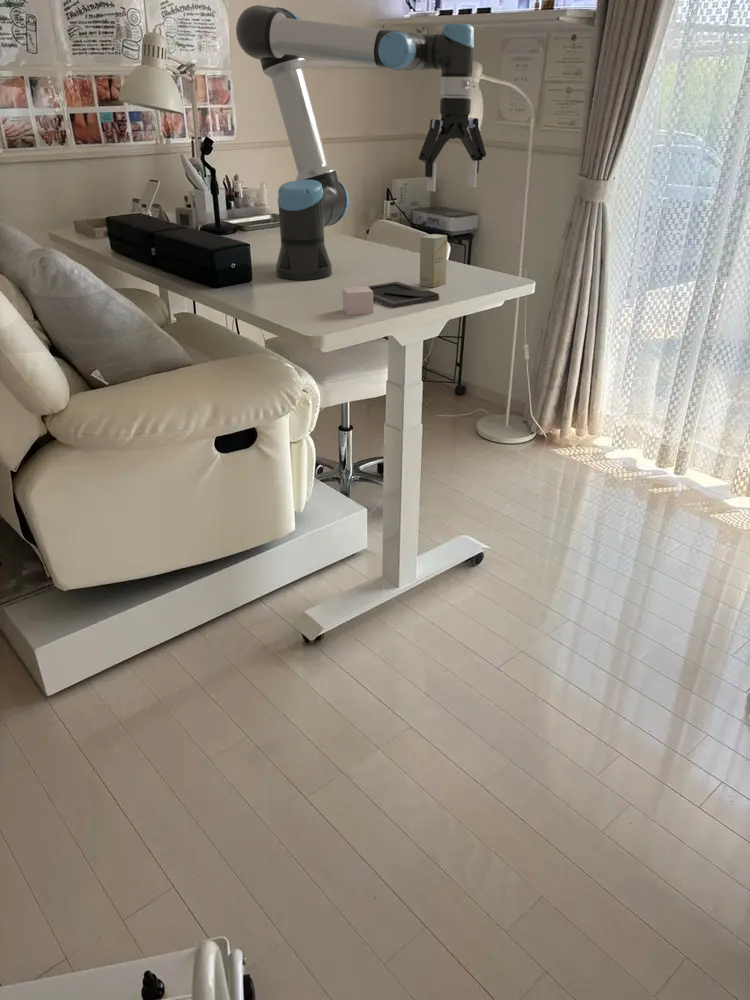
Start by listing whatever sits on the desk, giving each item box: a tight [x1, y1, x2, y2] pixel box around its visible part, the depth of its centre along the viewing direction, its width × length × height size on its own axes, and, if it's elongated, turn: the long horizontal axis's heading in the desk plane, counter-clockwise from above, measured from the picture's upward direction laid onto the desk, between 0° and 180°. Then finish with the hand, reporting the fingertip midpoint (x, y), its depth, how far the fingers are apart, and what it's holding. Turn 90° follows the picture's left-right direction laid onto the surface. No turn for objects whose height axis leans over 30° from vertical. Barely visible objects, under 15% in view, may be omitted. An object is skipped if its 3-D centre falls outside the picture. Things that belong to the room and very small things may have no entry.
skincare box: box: [419, 233, 448, 288], centre depth 201 cm, size 6×4×12 cm
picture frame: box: [365, 281, 440, 309], centre depth 193 cm, size 13×2×18 cm
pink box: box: [341, 285, 374, 316], centre depth 180 cm, size 6×5×5 cm
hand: (451, 189), depth 204 cm, fingers open, 13 cm apart
